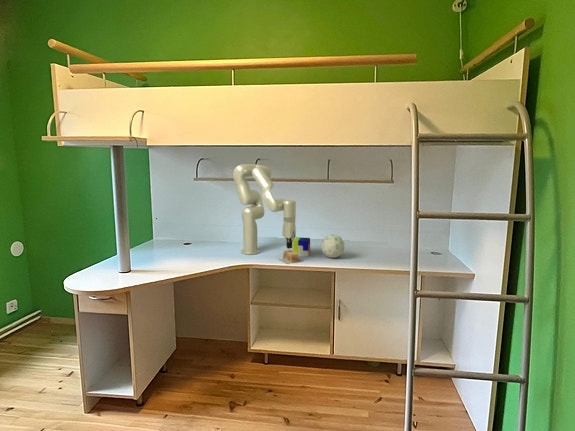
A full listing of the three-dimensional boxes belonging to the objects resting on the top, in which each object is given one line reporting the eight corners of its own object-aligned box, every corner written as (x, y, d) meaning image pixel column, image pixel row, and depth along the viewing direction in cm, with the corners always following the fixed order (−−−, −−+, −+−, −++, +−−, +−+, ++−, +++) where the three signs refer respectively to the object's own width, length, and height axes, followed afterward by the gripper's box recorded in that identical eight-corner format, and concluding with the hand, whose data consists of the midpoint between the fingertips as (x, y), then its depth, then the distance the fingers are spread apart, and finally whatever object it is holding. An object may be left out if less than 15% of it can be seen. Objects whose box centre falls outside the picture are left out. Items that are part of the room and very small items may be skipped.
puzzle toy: (307, 255, 262) (307, 241, 261) (293, 254, 264) (293, 240, 262) (309, 252, 272) (310, 237, 270) (295, 251, 274) (295, 237, 272)
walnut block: (283, 250, 253) (291, 254, 244) (290, 249, 256) (298, 253, 246) (283, 258, 254) (291, 262, 245) (289, 257, 256) (298, 261, 247)
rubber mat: (278, 259, 252) (278, 259, 252) (295, 257, 258) (295, 256, 258) (286, 263, 242) (286, 263, 242) (303, 261, 248) (303, 261, 248)
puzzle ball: (338, 253, 268) (339, 232, 265) (348, 259, 253) (348, 236, 251) (317, 255, 263) (318, 233, 261) (326, 261, 249) (326, 238, 247)
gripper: (278, 218, 253) (278, 246, 256) (290, 222, 240) (289, 251, 243) (289, 217, 256) (288, 245, 259) (300, 221, 243) (300, 250, 246)
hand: (289, 248), depth 251 cm, fingers closed
